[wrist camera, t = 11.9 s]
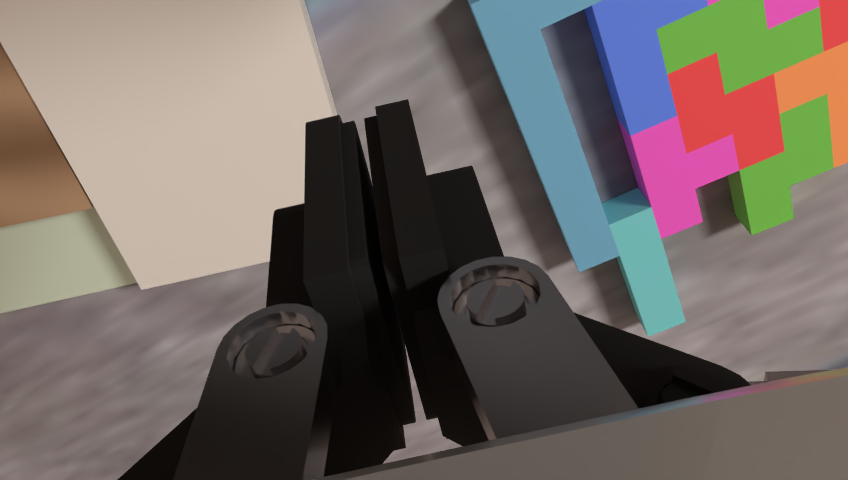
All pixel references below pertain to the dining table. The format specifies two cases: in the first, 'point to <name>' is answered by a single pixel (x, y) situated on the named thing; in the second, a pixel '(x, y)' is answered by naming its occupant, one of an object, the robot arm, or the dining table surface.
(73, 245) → the mat
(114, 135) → the board
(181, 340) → the dining table surface
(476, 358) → the robot arm
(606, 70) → the tetris game
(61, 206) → the tile
